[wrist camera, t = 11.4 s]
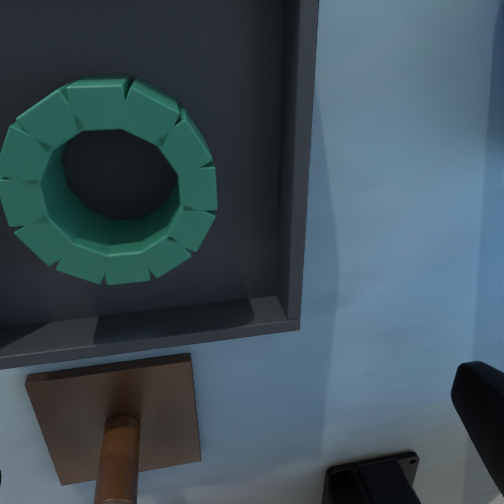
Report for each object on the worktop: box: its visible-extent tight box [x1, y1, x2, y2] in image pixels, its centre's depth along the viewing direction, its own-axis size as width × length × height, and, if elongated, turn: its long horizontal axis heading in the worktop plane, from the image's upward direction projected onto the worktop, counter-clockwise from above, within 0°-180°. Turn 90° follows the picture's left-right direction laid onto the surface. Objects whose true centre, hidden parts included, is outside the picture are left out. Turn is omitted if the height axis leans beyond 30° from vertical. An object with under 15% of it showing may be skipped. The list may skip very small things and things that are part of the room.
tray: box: [0, 0, 319, 370], centre depth 15 cm, size 14×13×2 cm
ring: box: [0, 75, 218, 285], centre depth 14 cm, size 6×6×3 cm
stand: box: [25, 353, 201, 504], centre depth 20 cm, size 8×8×5 cm
